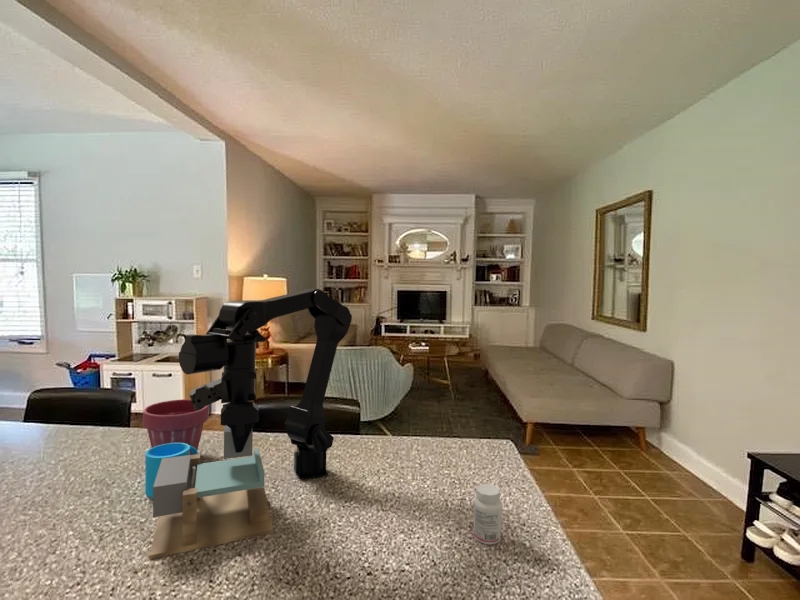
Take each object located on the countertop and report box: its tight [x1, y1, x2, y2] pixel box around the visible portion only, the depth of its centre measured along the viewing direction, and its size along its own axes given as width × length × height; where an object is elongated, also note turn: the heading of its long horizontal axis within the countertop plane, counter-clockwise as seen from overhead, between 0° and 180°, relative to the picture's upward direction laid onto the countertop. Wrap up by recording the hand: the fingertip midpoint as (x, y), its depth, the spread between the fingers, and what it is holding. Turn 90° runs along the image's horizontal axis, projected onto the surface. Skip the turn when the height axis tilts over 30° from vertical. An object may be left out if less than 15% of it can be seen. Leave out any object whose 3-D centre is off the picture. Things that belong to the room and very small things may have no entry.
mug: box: [144, 443, 199, 499], centre depth 89 cm, size 12×8×8 cm
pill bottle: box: [473, 483, 503, 546], centre depth 72 cm, size 5×5×8 cm
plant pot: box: [142, 398, 209, 455], centre depth 102 cm, size 14×14×13 cm
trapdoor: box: [152, 448, 266, 518], centre depth 76 cm, size 17×12×5 cm
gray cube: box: [223, 425, 254, 460], centre depth 80 cm, size 5×5×5 cm
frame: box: [149, 453, 274, 560], centre depth 77 cm, size 18×18×9 cm
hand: (238, 447), depth 80 cm, fingers closed on gray cube, 5 cm apart
